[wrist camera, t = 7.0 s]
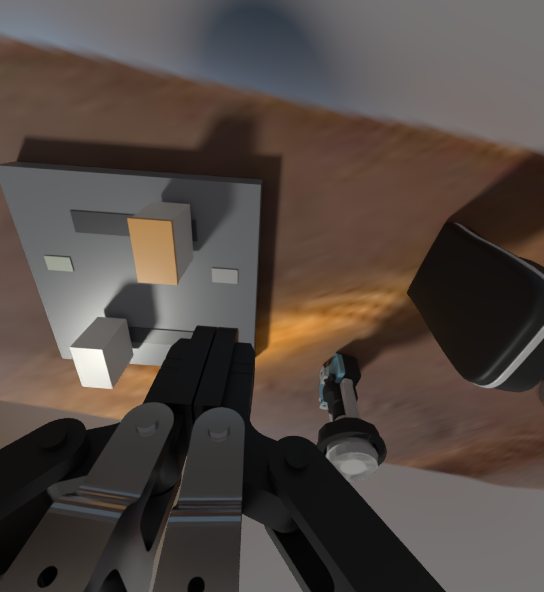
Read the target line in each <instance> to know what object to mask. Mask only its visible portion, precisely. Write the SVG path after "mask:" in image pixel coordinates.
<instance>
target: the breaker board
mask: <svg viewBox="0 0 544 592" xmlns="http://www.w3.org/2000/svg"><path fill="white" fill-rule="evenodd" d="M0 184H1V187H2V190H3V192H4V195H5V198H6V201H7V204H8V207H9V209H10V212H11V215H12V218H13V221H14V223H15V226H16V229H17V232H18V235H19V237H20V240H21V243H22V246H23V249H24V251H25V254H26V257H27V260H28V263H29V266H30V268H31V271H32V274H33V277H34V280H35V282H36V285H37V288H38V291H39V294H40V296H41V299H42V302H43V305H44V308H45V311H46V313H47V316H48V319H49V322H50V325H51V327H52V330H53V333H54V336H55V339H56V341H57V344H58V347H59V350H60V353H61V355H62V358H64V359H73V360H74V363H75V366H76V369H77V372H78V374H79V377H80V380H81V383H82V386H83V387H95V388H108V389H113V387H114V386H115V384H116V383H117V381H118V379H119V378H120V376H121V375H122V373H123V372H124V370H125V368H126V367H127V365H128V364H129V363H130V364H143V365H156V366H161V365H162V363H163V361H164V360H165V357H166V355H167V353H168V351H169V349H170V347H171V346H172V345H173V344H174V343H176V342H177V341H178V340H179V339H180V338H188V339H191V337H192V335H193V332H194V330H195V328H196V326H197V325H201V326H214V327H229V328H238V329H239V342H242V343H251V344H252V347H253V349H254V351H255V341H256V319H257V297H258V275H259V253H260V231H261V209H262V187H263V179H250V178H236V177H222V176H209V175H195V174H181V173H168V172H154V171H140V170H127V169H113V168H99V167H86V166H72V165H58V164H44V163H31V162H17V161H16V162H10V163H4V164H0ZM153 202H168V203H181V204H190V213H191V228H192V243H193V257H194V259H193V260H192V262H191V263H190V265H189V266H188V268H187V269H186V271H185V272H184V274H183V276H182V277H181V279H180V280H179V284H178V285H167V284H153V283H140V282H138V279H137V273H136V267H135V261H134V256H133V250H132V244H131V238H130V232H129V226H128V220H127V218H128V217H132V216H134V215H135V214H137V213H138V212H140V211H141V210H143V209H144V208H146V207H147V206H149V205H150V204H152V203H153Z"/></svg>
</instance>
